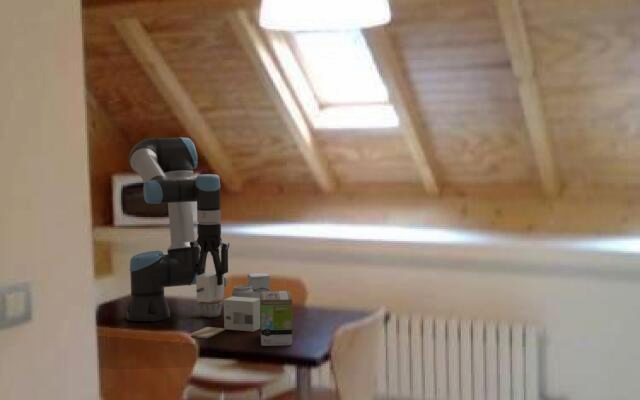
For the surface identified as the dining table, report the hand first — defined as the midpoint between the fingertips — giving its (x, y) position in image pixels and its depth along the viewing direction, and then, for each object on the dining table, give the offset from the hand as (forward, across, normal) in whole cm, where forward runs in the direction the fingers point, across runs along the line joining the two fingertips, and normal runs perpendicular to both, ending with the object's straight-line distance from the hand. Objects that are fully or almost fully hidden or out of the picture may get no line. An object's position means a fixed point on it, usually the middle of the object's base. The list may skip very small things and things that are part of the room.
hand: (210, 294), depth 295 cm
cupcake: (+15, -16, +27) cm, 35 cm away
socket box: (+14, +4, +13) cm, 20 cm away
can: (+15, -2, +25) cm, 29 cm away
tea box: (+14, +22, +2) cm, 26 cm away
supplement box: (+15, -5, +45) cm, 48 cm away
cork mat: (+14, -4, +3) cm, 15 cm away
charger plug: (+1, 0, 0) cm, 1 cm away
